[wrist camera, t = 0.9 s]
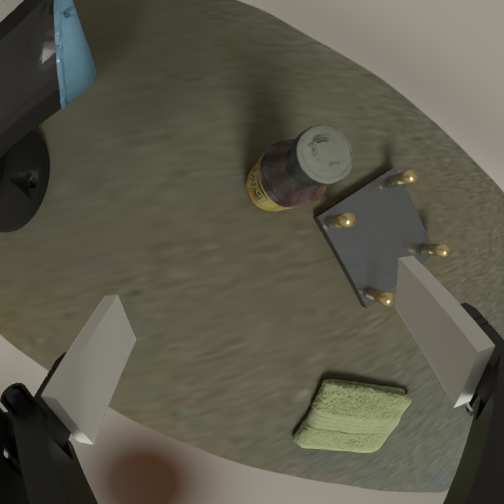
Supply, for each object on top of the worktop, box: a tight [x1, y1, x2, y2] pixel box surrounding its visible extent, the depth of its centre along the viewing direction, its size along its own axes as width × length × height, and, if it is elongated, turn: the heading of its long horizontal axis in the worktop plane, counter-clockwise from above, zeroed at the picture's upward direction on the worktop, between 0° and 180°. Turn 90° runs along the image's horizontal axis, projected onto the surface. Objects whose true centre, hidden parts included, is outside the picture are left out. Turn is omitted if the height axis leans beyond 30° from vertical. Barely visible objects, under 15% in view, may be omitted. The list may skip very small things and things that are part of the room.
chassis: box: [314, 167, 451, 308], centre depth 37 cm, size 14×14×6 cm
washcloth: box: [293, 379, 412, 453], centre depth 41 cm, size 13×18×3 cm
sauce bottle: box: [246, 125, 353, 211], centre depth 28 cm, size 6×6×20 cm
